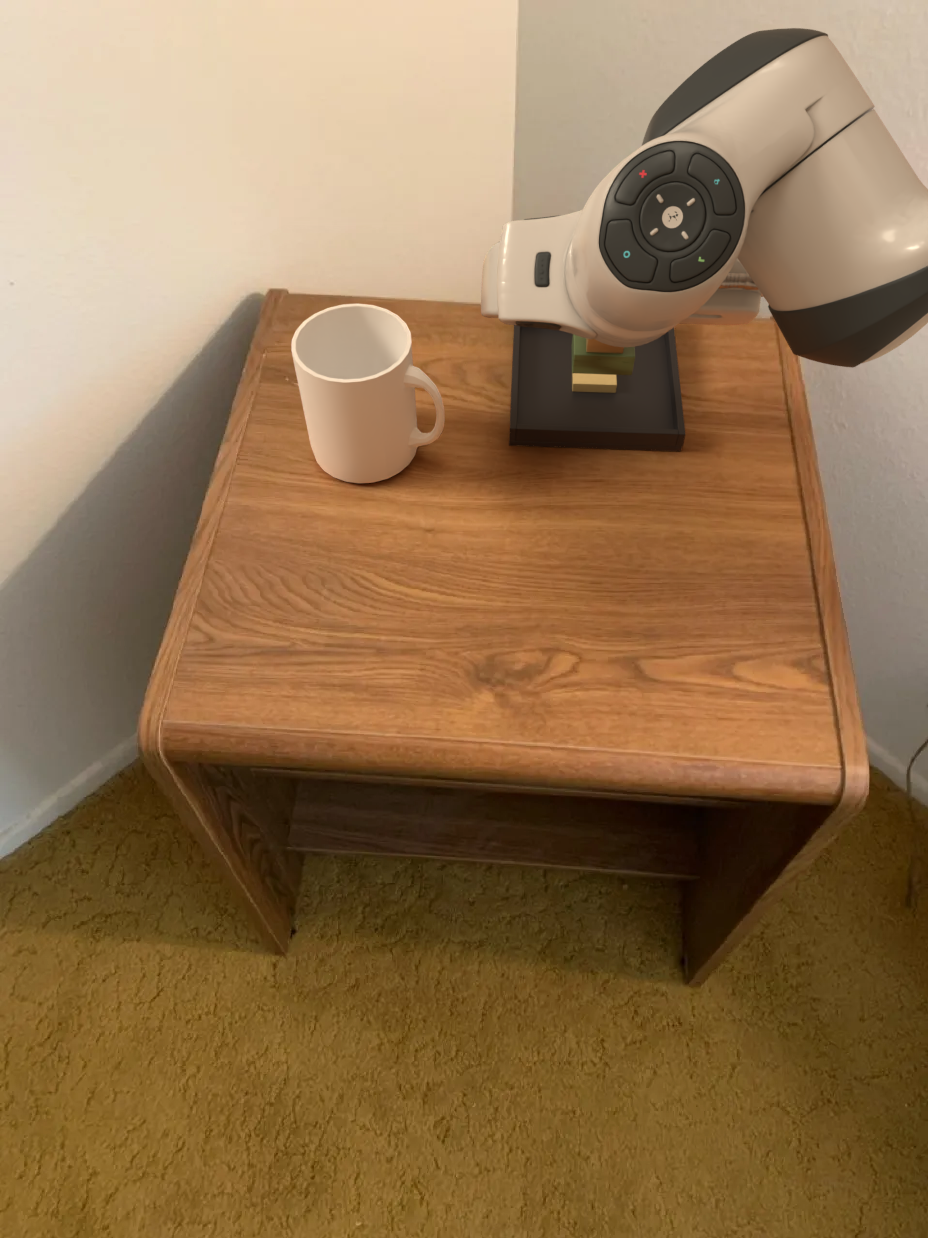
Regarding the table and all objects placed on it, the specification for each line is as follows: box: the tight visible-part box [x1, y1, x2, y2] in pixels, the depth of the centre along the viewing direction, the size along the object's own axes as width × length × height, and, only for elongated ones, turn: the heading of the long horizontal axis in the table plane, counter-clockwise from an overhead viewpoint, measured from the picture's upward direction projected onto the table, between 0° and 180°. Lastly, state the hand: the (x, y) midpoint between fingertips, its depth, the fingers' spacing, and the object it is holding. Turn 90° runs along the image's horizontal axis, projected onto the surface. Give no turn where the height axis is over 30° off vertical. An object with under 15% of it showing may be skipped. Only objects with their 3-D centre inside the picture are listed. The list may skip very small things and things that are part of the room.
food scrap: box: [572, 373, 617, 393], centre depth 86 cm, size 4×4×1 cm
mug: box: [290, 303, 446, 484], centre depth 77 cm, size 10×12×12 cm
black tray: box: [508, 325, 687, 452], centre depth 86 cm, size 15×17×2 cm
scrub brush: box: [572, 334, 635, 375], centre depth 74 cm, size 5×4×9 cm
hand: (607, 306), depth 74 cm, fingers closed on scrub brush, 3 cm apart
